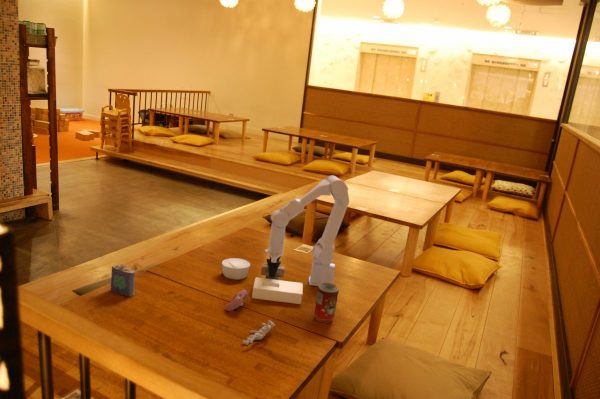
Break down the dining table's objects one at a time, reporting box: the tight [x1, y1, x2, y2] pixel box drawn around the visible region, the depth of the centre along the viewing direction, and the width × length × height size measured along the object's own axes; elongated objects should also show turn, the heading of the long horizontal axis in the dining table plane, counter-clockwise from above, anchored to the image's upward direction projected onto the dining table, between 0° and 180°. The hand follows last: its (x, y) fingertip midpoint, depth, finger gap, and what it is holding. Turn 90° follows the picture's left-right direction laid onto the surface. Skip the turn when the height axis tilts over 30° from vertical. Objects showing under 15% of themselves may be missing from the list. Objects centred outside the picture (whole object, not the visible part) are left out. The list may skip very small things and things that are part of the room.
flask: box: [109, 263, 136, 298], centre depth 161 cm, size 9×3×11 cm, turn 68°
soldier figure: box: [242, 319, 276, 346], centre depth 146 cm, size 8×5×12 cm
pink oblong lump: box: [224, 289, 250, 312], centre depth 164 cm, size 10×5×7 cm, turn 169°
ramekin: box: [221, 257, 251, 281], centre depth 190 cm, size 11×11×5 cm
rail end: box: [260, 263, 286, 280], centre depth 188 cm, size 9×3×6 cm, turn 89°
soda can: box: [314, 283, 340, 324], centre depth 163 cm, size 7×7×12 cm
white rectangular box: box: [251, 277, 304, 305], centre depth 177 cm, size 18×10×4 cm, turn 89°
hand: (272, 273), depth 188 cm, fingers open, 7 cm apart
